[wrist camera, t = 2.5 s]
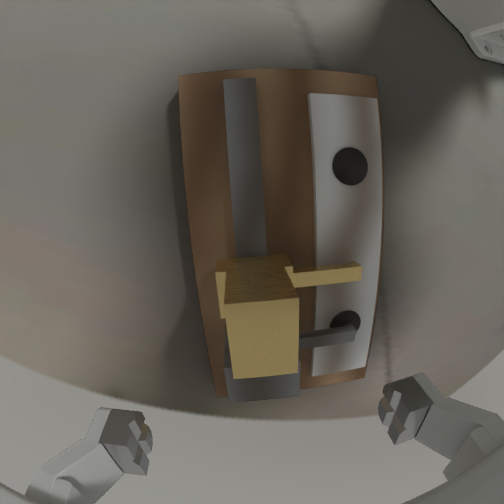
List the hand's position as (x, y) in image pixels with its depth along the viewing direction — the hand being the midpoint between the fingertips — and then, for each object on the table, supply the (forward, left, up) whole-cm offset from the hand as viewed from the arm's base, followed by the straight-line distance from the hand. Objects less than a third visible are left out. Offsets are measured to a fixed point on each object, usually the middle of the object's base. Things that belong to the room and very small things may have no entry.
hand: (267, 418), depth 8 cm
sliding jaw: (-3, 0, -12) cm, 12 cm away
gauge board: (-3, -1, -15) cm, 15 cm away
